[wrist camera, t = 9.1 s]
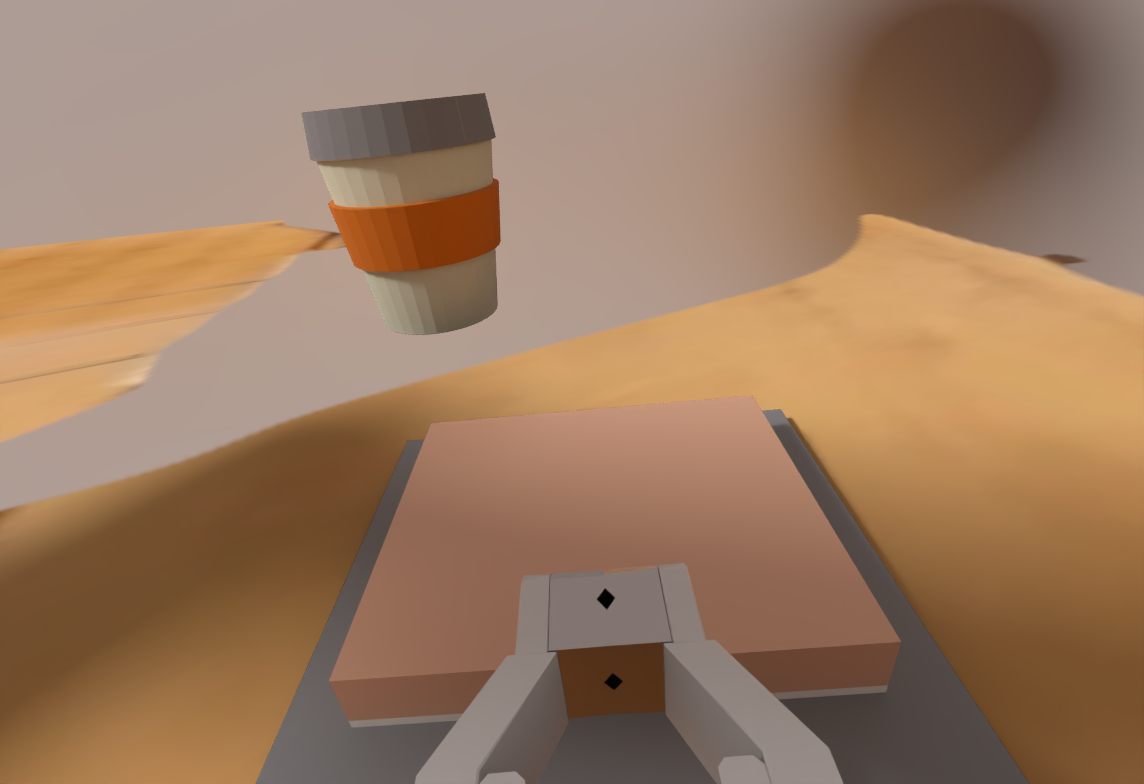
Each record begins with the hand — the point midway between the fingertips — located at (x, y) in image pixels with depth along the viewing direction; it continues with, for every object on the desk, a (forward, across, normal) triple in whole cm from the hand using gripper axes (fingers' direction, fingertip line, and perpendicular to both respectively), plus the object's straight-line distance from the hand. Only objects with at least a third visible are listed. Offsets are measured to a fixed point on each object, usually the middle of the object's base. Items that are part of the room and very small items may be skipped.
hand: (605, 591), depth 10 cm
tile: (+1, 0, +5) cm, 5 cm away
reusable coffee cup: (+35, +11, +7) cm, 37 cm away
